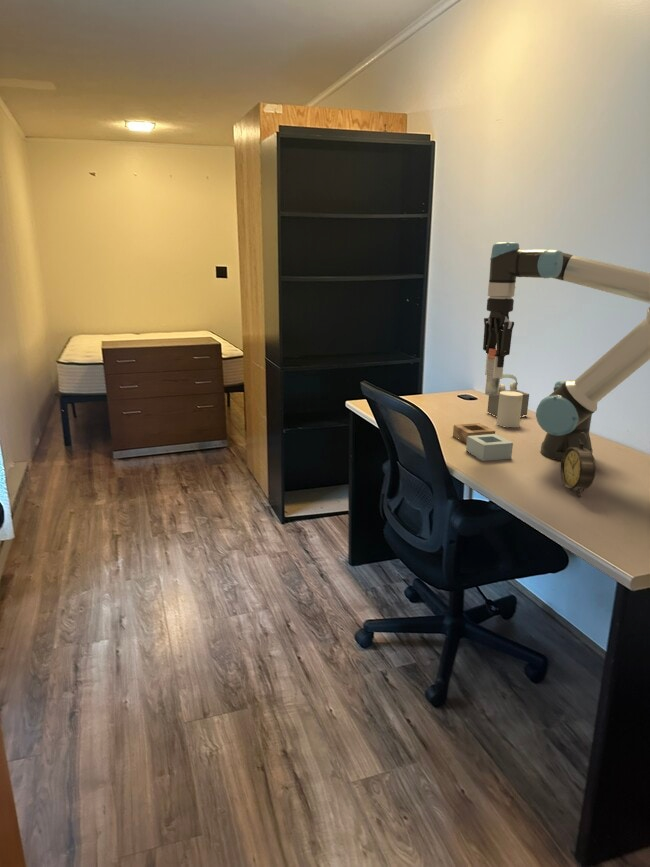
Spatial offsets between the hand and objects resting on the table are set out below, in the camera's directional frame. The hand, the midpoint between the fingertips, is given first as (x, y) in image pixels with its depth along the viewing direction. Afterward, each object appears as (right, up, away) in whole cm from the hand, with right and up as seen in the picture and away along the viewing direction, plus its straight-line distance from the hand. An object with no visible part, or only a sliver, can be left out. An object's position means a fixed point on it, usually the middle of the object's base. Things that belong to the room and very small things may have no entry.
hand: (493, 376), depth 180 cm
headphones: (+23, -6, +55) cm, 60 cm away
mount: (-1, -19, +21) cm, 28 cm away
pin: (0, -5, +2) cm, 6 cm away
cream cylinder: (+16, -15, +39) cm, 44 cm away
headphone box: (+20, -10, +53) cm, 57 cm away
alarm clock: (+15, -33, -24) cm, 43 cm away
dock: (0, -24, +5) cm, 25 cm away
